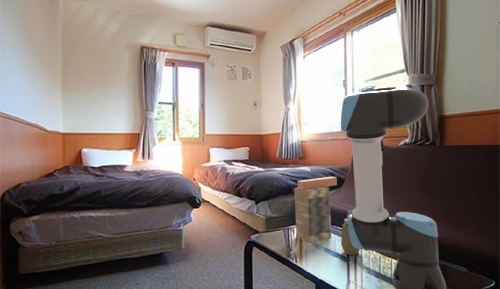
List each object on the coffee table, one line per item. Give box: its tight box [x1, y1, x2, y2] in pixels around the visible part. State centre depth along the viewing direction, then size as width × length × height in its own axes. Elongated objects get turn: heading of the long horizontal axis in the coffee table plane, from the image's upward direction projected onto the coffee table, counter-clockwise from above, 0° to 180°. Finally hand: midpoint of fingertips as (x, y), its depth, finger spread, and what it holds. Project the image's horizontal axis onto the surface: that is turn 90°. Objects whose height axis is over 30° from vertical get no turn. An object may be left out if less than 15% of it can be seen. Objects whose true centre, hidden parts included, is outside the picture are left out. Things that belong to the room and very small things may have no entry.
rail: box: [297, 176, 338, 190], centre depth 148 cm, size 22×4×4 cm, turn 116°
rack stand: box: [293, 186, 332, 244], centre depth 146 cm, size 14×10×25 cm
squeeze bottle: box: [340, 210, 361, 256], centre depth 125 cm, size 8×8×18 cm
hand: (372, 166), depth 135 cm, fingers open, 13 cm apart
